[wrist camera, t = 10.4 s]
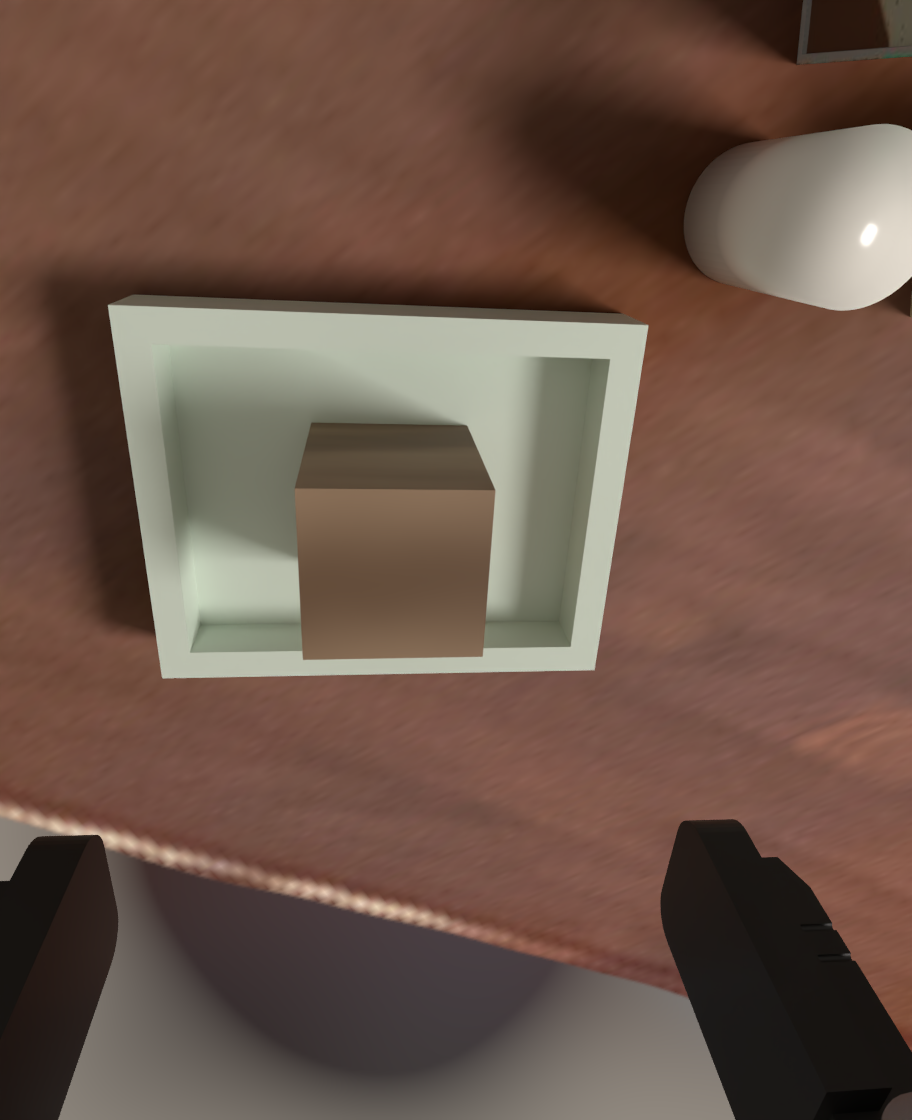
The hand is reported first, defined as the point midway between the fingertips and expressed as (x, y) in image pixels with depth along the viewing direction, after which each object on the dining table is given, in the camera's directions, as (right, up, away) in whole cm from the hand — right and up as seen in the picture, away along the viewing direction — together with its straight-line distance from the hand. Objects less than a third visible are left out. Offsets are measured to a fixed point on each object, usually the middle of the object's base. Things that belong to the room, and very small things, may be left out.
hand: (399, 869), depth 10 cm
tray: (-2, +7, +15) cm, 17 cm away
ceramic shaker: (+10, +15, +12) cm, 22 cm away
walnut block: (-1, +6, +15) cm, 16 cm away
